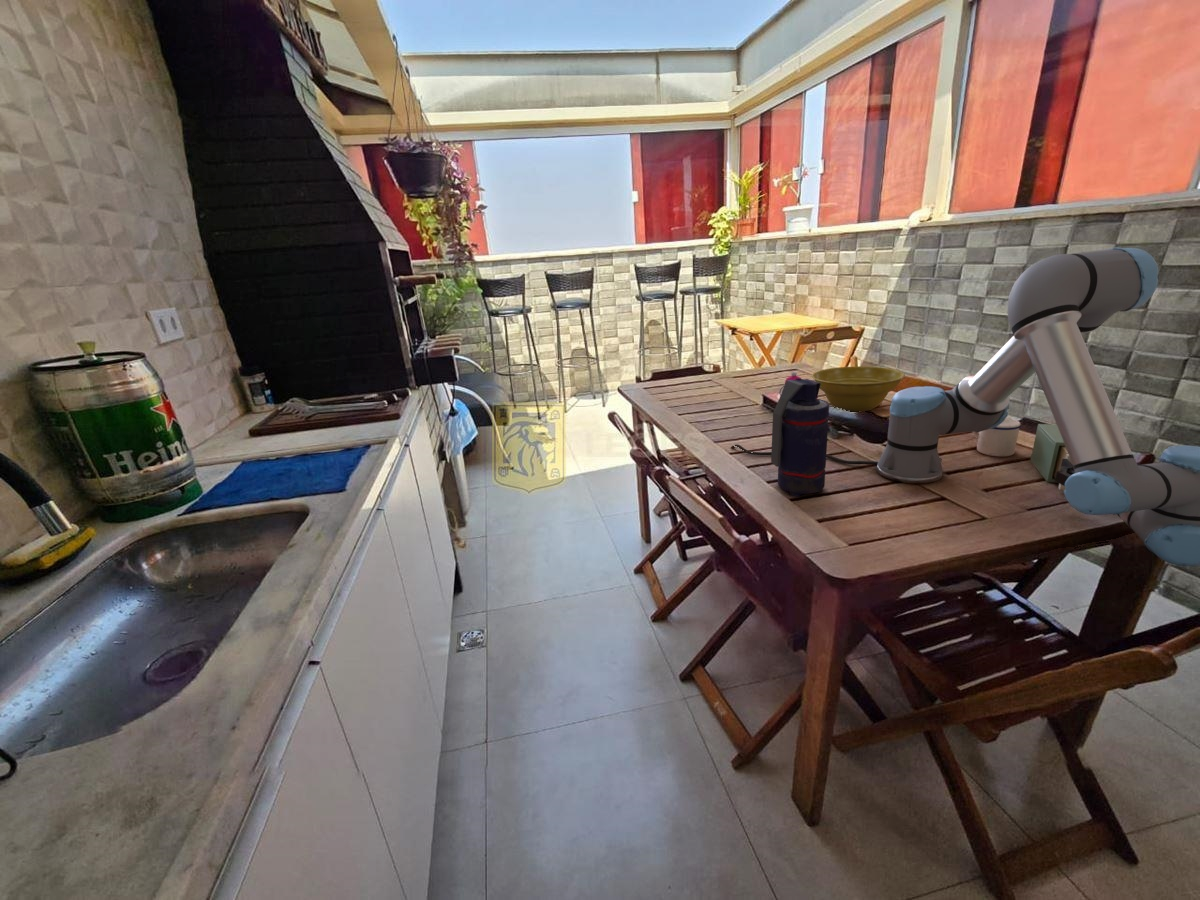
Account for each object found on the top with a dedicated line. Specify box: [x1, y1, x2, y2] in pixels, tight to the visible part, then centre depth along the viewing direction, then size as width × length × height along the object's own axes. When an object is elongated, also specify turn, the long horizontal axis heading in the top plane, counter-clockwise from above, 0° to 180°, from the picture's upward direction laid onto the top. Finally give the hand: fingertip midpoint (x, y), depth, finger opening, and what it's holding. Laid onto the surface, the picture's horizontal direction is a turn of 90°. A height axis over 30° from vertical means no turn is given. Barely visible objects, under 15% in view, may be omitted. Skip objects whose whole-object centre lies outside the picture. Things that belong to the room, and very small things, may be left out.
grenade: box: [770, 378, 830, 497], centre depth 128 cm, size 14×12×30 cm
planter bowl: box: [811, 365, 906, 412], centre depth 192 cm, size 32×32×13 cm
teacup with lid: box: [971, 416, 1022, 457], centre depth 141 cm, size 12×9×12 cm
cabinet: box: [1029, 423, 1065, 484], centre depth 124 cm, size 15×13×11 cm
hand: (1098, 465), depth 112 cm, fingers closed on drawer, 11 cm apart
